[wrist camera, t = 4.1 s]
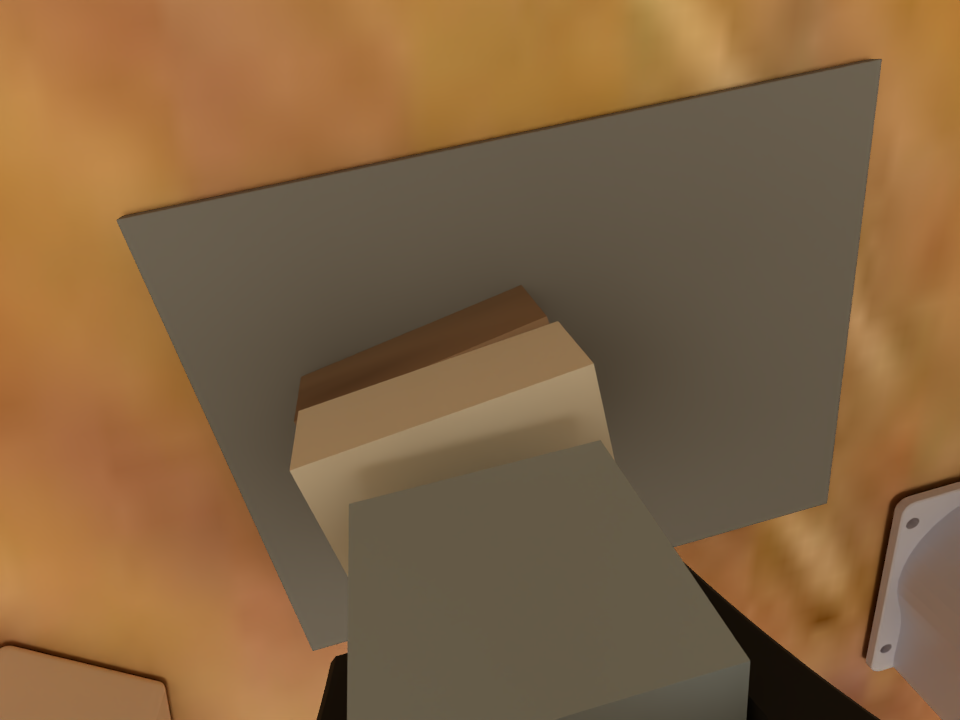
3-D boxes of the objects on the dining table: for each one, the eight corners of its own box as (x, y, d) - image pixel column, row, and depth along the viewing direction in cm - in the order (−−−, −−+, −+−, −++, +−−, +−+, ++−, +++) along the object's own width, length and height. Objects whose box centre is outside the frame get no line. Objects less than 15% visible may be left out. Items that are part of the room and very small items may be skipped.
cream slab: (604, 516, 16) (640, 577, 14) (392, 594, 16) (398, 668, 14) (558, 320, 13) (593, 363, 11) (298, 411, 13) (289, 470, 11)
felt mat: (819, 495, 21) (826, 503, 21) (313, 640, 19) (313, 650, 19) (868, 59, 15) (881, 59, 14) (123, 215, 13) (116, 219, 13)
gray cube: (615, 613, 13) (736, 863, 9) (406, 673, 12) (431, 964, 8) (600, 440, 11) (750, 660, 7) (348, 503, 10) (347, 781, 6)
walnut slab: (581, 460, 18) (610, 508, 16) (396, 539, 18) (402, 596, 16) (521, 285, 15) (546, 315, 13) (300, 376, 15) (293, 422, 13)
